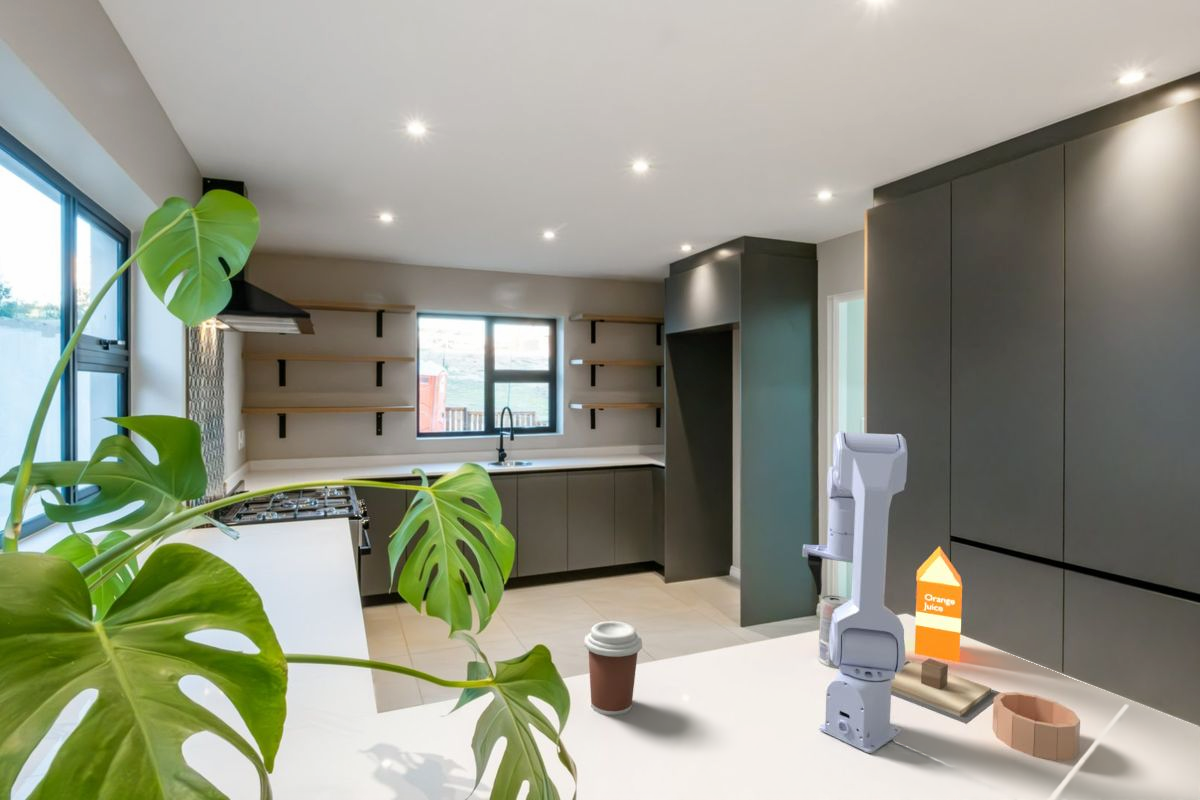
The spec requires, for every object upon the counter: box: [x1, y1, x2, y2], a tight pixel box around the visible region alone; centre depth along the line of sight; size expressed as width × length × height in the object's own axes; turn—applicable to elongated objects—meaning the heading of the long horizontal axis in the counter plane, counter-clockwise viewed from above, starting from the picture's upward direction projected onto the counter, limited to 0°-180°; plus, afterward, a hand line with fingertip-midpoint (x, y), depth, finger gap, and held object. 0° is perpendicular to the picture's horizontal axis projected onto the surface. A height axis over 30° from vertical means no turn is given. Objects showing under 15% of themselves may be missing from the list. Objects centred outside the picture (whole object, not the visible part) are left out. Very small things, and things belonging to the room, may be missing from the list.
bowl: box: [991, 691, 1081, 762], centre depth 92 cm, size 10×10×5 cm
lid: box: [891, 657, 992, 716], centre depth 108 cm, size 13×13×4 cm
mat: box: [891, 660, 1002, 725], centre depth 108 cm, size 16×16×1 cm
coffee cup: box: [584, 620, 643, 716], centre depth 100 cm, size 9×9×12 cm
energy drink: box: [818, 594, 850, 670], centre depth 118 cm, size 5×5×12 cm
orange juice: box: [914, 545, 963, 663], centre depth 125 cm, size 8×9×20 cm
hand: (840, 596), depth 124 cm, fingers open, 7 cm apart
